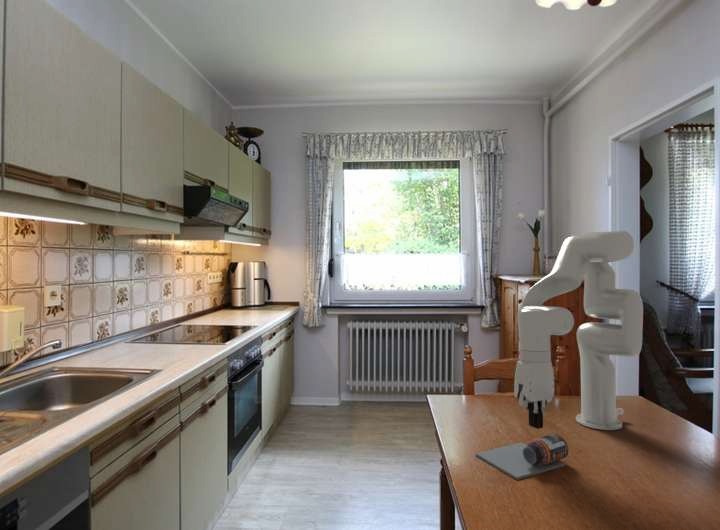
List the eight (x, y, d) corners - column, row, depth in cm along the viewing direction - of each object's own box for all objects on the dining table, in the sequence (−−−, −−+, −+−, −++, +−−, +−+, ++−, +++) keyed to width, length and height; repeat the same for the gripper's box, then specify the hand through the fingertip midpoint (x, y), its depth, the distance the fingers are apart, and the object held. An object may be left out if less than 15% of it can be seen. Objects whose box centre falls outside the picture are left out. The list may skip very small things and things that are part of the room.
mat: (521, 444, 115) (521, 442, 115) (565, 465, 102) (565, 463, 102) (475, 455, 108) (475, 453, 108) (516, 480, 95) (516, 477, 95)
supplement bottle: (564, 463, 104) (534, 474, 99) (545, 445, 109) (515, 455, 103) (573, 445, 102) (542, 456, 97) (553, 428, 107) (523, 437, 101)
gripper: (543, 351, 115) (544, 417, 114) (502, 356, 108) (503, 426, 108) (567, 356, 108) (568, 426, 108) (525, 361, 101) (526, 436, 101)
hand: (535, 426), depth 108 cm, fingers closed
